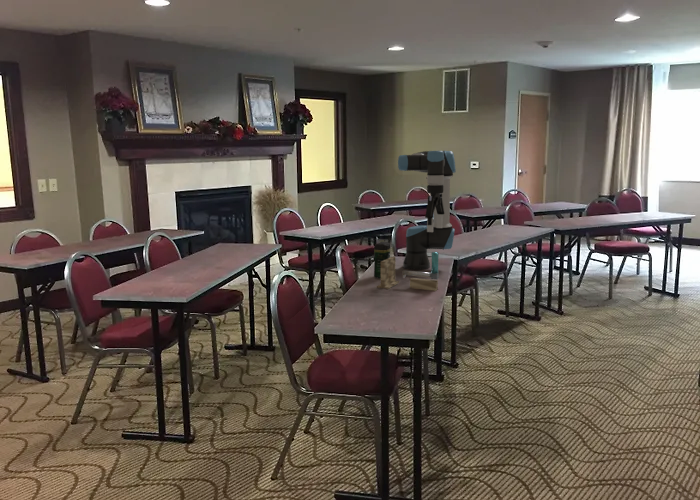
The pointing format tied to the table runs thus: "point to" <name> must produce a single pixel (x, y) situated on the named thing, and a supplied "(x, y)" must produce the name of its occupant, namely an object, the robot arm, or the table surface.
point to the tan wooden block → (388, 273)
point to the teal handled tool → (433, 274)
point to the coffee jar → (380, 256)
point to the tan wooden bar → (424, 284)
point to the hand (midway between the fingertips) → (434, 230)
